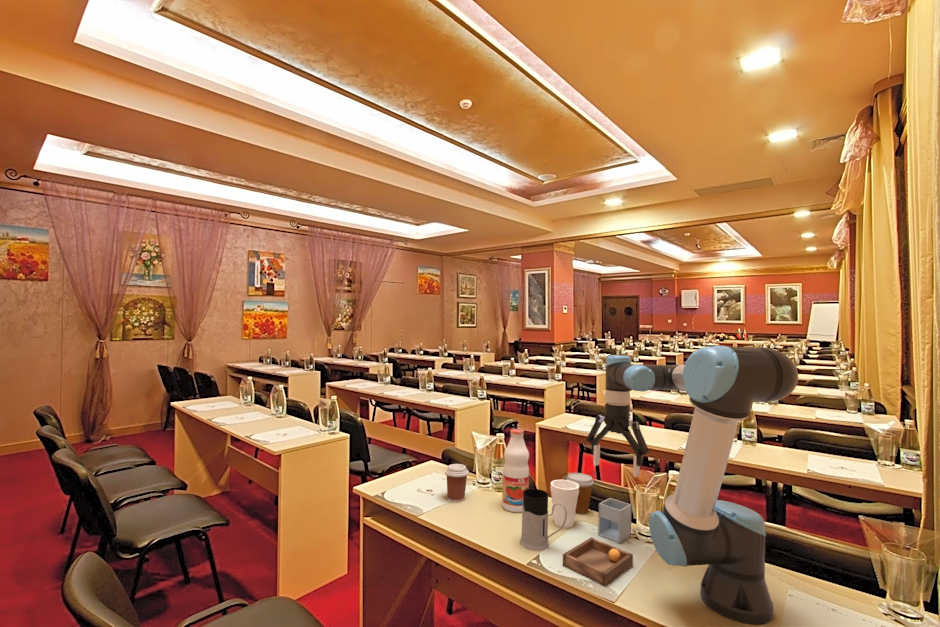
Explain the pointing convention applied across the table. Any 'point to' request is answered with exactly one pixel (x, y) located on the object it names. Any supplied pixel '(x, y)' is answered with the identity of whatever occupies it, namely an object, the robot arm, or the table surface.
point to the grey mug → (536, 519)
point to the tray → (597, 561)
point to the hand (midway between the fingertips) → (615, 470)
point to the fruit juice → (515, 472)
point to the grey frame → (614, 520)
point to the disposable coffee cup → (582, 490)
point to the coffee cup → (456, 482)
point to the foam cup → (564, 501)
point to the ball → (614, 555)
